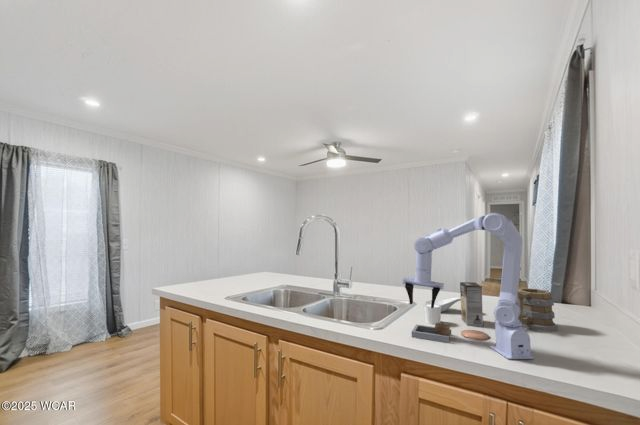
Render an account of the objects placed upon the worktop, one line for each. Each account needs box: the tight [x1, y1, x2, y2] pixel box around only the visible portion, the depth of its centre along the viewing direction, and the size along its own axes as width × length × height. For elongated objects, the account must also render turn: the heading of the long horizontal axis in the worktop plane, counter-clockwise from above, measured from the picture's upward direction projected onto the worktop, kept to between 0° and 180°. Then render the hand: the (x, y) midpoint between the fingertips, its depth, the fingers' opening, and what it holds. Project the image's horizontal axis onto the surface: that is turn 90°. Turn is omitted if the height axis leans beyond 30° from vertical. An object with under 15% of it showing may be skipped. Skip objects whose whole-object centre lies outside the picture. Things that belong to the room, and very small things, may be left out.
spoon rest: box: [423, 296, 461, 313], centre depth 141 cm, size 24×12×7 cm, turn 69°
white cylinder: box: [423, 304, 442, 325], centre depth 124 cm, size 7×7×7 cm
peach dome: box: [460, 329, 490, 341], centre depth 107 cm, size 9×9×1 cm
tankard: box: [518, 287, 559, 332], centre depth 117 cm, size 20×13×15 cm, turn 110°
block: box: [434, 322, 451, 340], centre depth 106 cm, size 4×4×4 cm
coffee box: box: [459, 281, 484, 327], centre depth 123 cm, size 9×6×16 cm
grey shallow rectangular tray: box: [411, 324, 452, 344], centre depth 107 cm, size 12×9×2 cm
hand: (421, 305), depth 111 cm, fingers open, 7 cm apart
